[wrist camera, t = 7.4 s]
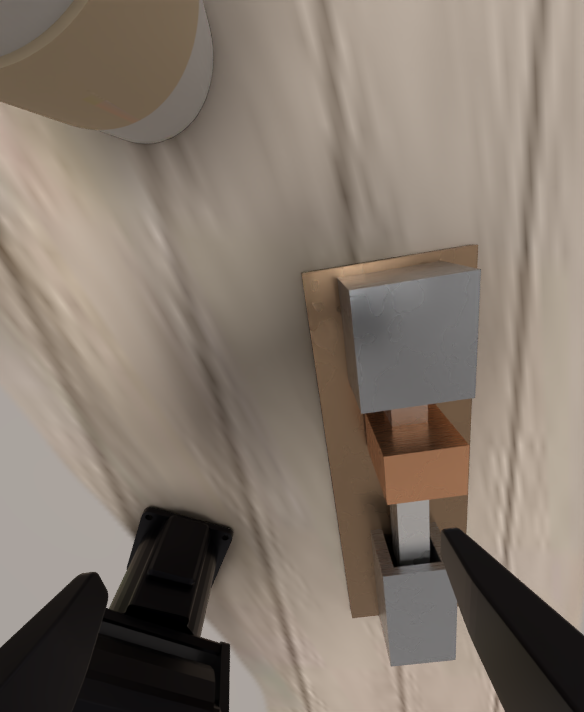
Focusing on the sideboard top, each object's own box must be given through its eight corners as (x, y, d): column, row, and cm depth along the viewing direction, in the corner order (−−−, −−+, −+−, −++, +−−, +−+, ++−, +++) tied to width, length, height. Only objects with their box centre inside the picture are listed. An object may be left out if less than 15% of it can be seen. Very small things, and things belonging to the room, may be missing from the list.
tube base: (460, 599, 27) (489, 661, 23) (351, 611, 28) (361, 674, 24) (472, 244, 17) (526, 249, 13) (301, 272, 18) (304, 285, 14)
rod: (433, 542, 24) (463, 607, 20) (377, 548, 24) (395, 615, 20) (431, 330, 18) (472, 360, 14) (357, 341, 18) (377, 375, 14)
